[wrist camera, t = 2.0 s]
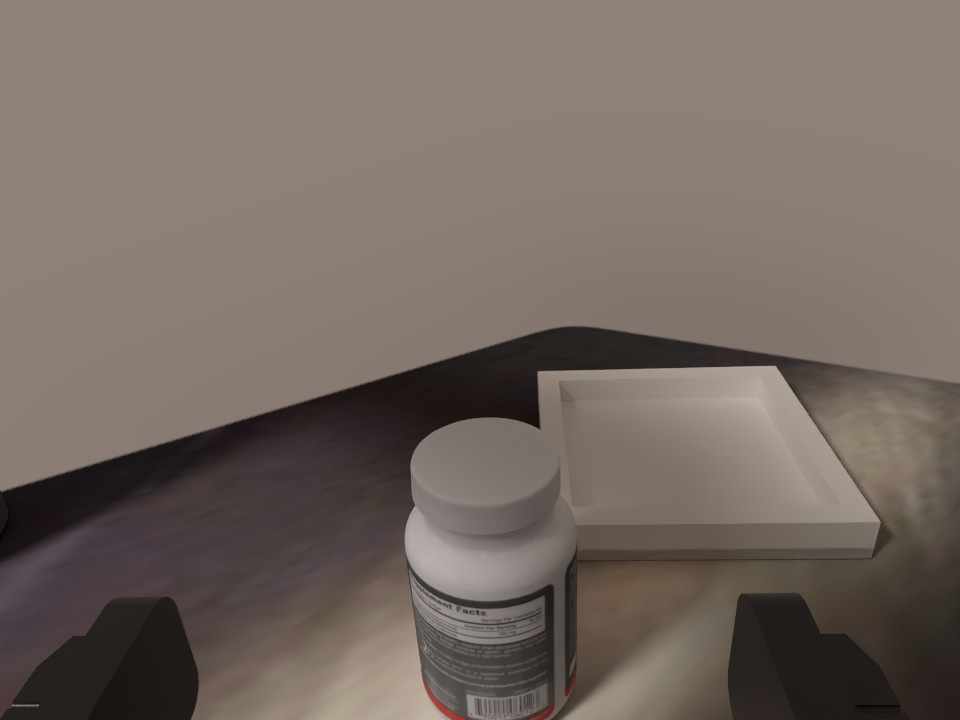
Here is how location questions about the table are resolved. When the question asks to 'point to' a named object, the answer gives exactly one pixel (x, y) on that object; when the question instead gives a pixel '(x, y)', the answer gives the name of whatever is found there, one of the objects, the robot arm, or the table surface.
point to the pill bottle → (492, 571)
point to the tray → (699, 467)
